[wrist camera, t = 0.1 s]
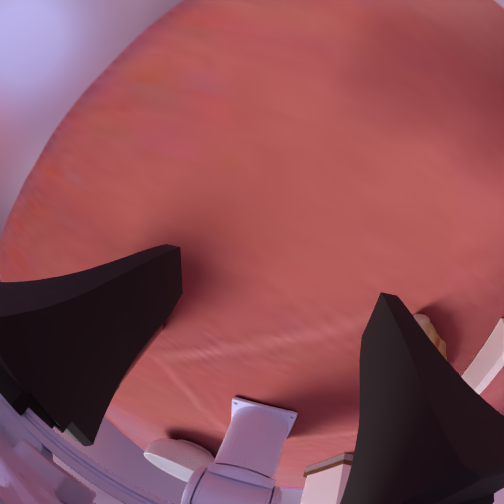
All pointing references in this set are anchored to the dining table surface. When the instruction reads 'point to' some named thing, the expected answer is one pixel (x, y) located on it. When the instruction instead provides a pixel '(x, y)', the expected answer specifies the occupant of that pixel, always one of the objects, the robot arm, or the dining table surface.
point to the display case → (327, 480)
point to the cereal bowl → (178, 457)
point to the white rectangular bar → (487, 360)
